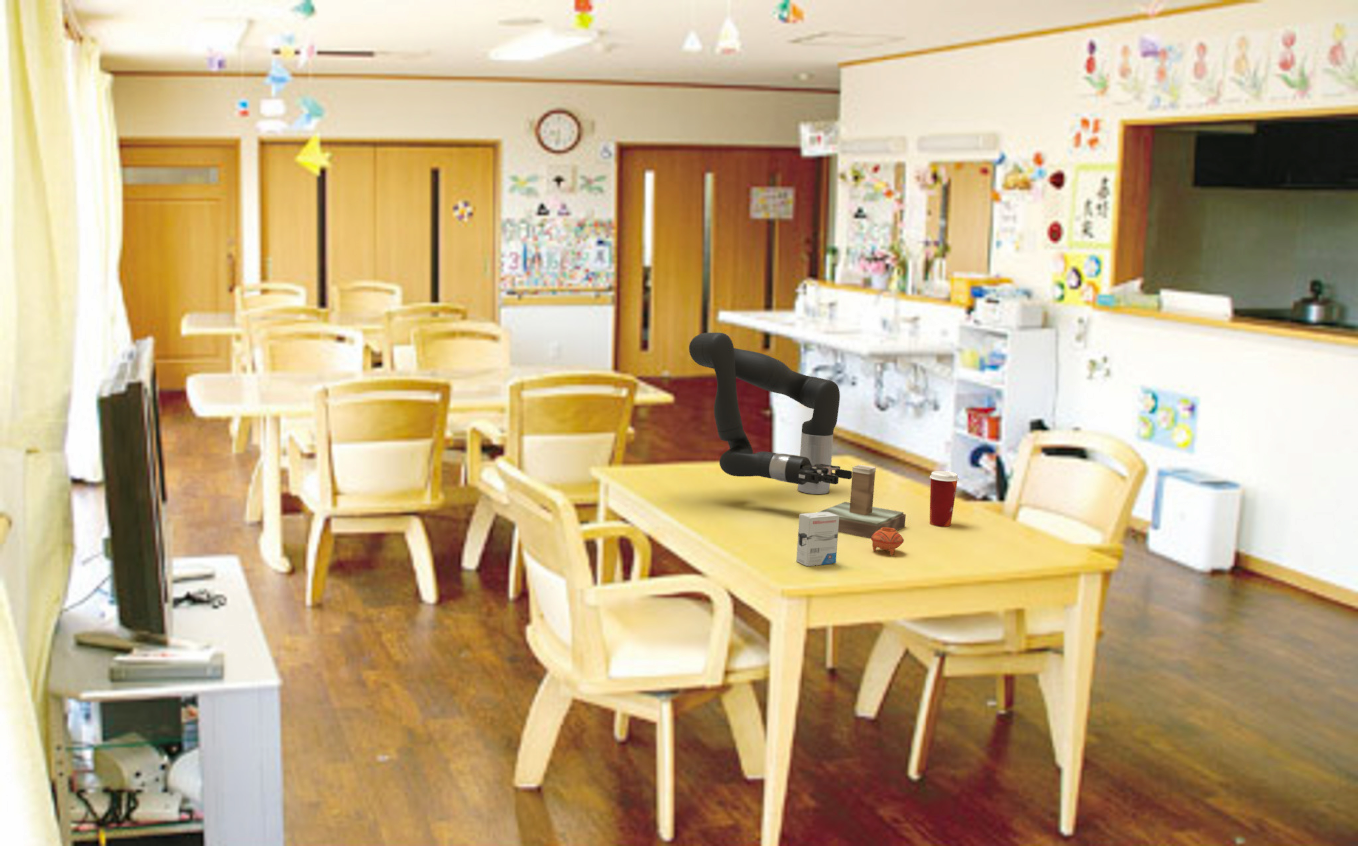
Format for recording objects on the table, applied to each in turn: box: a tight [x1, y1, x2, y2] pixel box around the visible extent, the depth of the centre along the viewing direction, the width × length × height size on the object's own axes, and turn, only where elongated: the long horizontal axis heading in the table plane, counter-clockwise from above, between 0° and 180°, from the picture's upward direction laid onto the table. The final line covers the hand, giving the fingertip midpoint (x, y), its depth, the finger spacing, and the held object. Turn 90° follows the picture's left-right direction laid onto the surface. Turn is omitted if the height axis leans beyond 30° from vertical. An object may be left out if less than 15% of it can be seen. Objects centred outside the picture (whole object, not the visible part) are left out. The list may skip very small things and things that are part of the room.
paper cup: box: [929, 470, 959, 528], centre depth 374 cm, size 8×8×14 cm
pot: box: [870, 527, 905, 556], centre depth 342 cm, size 8×8×7 cm
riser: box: [816, 501, 907, 539], centre depth 366 cm, size 18×18×4 cm
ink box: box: [796, 511, 839, 567], centre depth 328 cm, size 8×5×12 cm, turn 118°
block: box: [849, 464, 877, 515], centre depth 365 cm, size 5×5×12 cm
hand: (844, 477), depth 367 cm, fingers open, 8 cm apart
